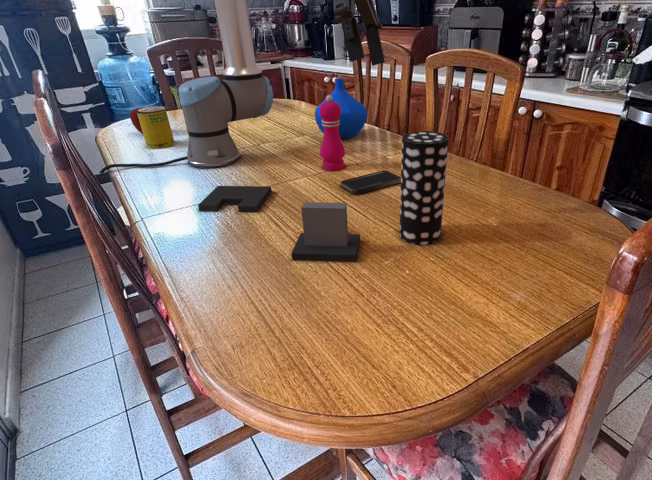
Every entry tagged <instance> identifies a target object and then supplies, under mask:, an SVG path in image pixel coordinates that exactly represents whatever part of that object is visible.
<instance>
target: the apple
mask: <svg viewBox="0 0 652 480" xmlns="http://www.w3.org/2000/svg"><path fill="white" fill-rule="evenodd" d="M145 107H146V106H140V107H135V108H133V109H131V110H130V112H129V119H130V122H131V124H132V125H133V126H134V128H135V129H136V130H137V131H138V132H139V133H140V134H141V135H143V132H142V128H141V125H140V121H139V118H138V115H137V111H136V110H138V109H141V108H145Z"/></svg>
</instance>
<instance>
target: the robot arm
mask: <svg viewBox="0 0 652 480" xmlns="http://www.w3.org/2000/svg"><path fill="white" fill-rule="evenodd" d="M213 1H214V6H215V11H216V16H217V22H218V29H219V34H220V38H221V44H222V51H223V56H224V61H225V69H224V70H223V71H222V72H221V75H222V80H221V79H220V78H219V77H218V76H205V77H198V78H193V79H190V80H187V81H185V82H183V83H181V84H180V86H179V87H178V95H179V96H178V97H179V104H180V106H181V111H182V115H183V119H184V122H185V126H186V127H185V128H186V132H187V136H188V143H187V144H188V145H187V153H186V154H187V155H186V156H182V157H178V158H175V159H174V158H173V159H170V160H168V161H163V162H156V163H113V164H108V165H106V166H104V167H103V168H101V170H100V171H99V173H98V174H100V175H101V174H104V173H105V172H106V171H107V170H110V169H113V168H135V167H136V168H155V167H162V166H167V165H171V164H175V163H178V162H182V161H187V162H188V163H187V164H188V165H189V166H191V167H193V168H199V169H213V168H214V169H215V168H220V167H225V166H229V165H231V164H234V163H237V161H239V160H240V158H241V157H240V151H239V149H238V147H237V145H236V142H235V141H234V139H233V137H232V136H231V133H230V130H229V124H228V123H233V122H237V121H243V120H244V121H245V120H248V119H257V118H259V117H262V116H265V115H267V114H269V113H270V111H271V110H272V107H273V103H274V92H273V86H272V85H271V82H270V79H269V78H268V77H267V76H264V75H263V70H262V69H261V68H260V67H259V66H257V63H256V57H255V55H256V54H255V50H254V43H253V35H252V28H251V22H250V21H251V20H250V16H249V15H250V14H249V8H248V0H213ZM332 2H333V13H334V20H335V21H334V22H335V23H336V24H339V23H341V28H342V33H343V37H344V40H345V47H346V51H347V55H348V59H349V62H352V63H353V62H356V61H358V60H362V59H364V58H365V53H364V48H363V43H362V38H361V33H360V28H359V25H358V20H357V18H356V17H355V7H356V9H357V11H358V12H357V13H358V14H359V17H360V19H361V22H362V24H363V26H364V29H365V33H364V34H365V38H366V44H367V48H368V54H369V57H370V58H369V59H370V64H371V66H372V67H374V66H378V65H380V64H385V62H386V60H385V56H384V51H383V50H384V49H383V46H382V40H381V36H380V30H381V29H382V28H383V24H382V23H381V22H380V19H379V15H378V13H377V10H376V6H375V3H374V0H333V1H332ZM354 17H355V18H354Z"/></svg>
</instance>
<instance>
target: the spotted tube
mask: <svg viewBox="0 0 652 480" xmlns="http://www.w3.org/2000/svg"><path fill="white" fill-rule="evenodd" d="M449 137H450V136H449V135H447V134H445V133H443V132H439V131H434V130H433V131H432V130H417V131H411V132H407V133H404V134H403V135H402V136H401V161H400V163H401V167H400V177H401V182H400V197H399V198H400V202H399V203H400V207H399V237H400V239H401V240H402V241H404V242H406V243H409V244H411V245H421V246H425V245H430V244H431V245H432V244H434V243H436V242H438V241H439V240H440V239H441V235H442V234H441V233H442V224H443V223H442V221H443V210H444V198H445V189H446V187H445V186H446V174H447V163H448V151H449V140H450V139H449Z"/></svg>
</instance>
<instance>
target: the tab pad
mask: <svg viewBox="0 0 652 480" xmlns="http://www.w3.org/2000/svg"><path fill="white" fill-rule="evenodd" d="M347 206H348V205H347V202H319V201H318V202H317V201H316V202H315V201H304V202H303V203H302V205H301V207H300V210H301V211H300V212H301V221H302V230H303V232H300V234H299V236H298V238H297V240H296V243H295V244H294V246H293V249H292V251H291V252H290V253H291V259H292V261H316V262H317V261H318V262H319V261H321V262H323V261H324V262H354V263H355V262H357V259H358V254H359V253H358V252H359V249H360V242H361V234H360V233H349V228H348V226H349V225H348V207H347Z"/></svg>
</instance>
